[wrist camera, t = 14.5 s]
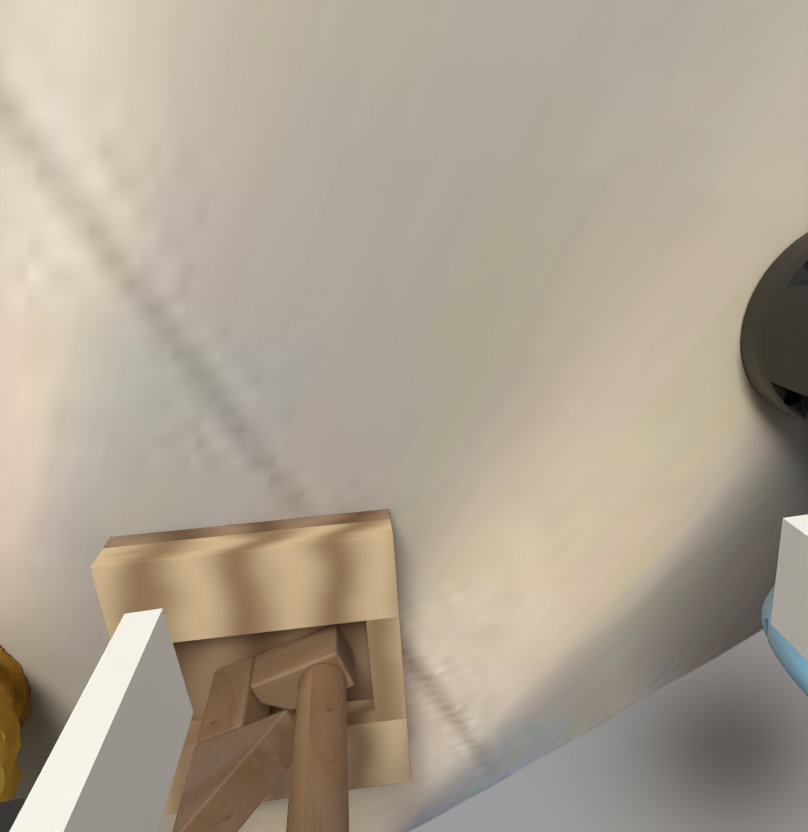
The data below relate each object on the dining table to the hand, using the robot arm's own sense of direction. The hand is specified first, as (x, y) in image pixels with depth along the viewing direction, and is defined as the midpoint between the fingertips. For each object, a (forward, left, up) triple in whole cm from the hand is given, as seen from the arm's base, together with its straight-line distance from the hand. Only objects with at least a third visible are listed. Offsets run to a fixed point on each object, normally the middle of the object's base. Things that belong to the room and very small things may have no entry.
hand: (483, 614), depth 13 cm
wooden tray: (+11, +27, -32) cm, 43 cm away
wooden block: (+10, +27, -30) cm, 42 cm away
